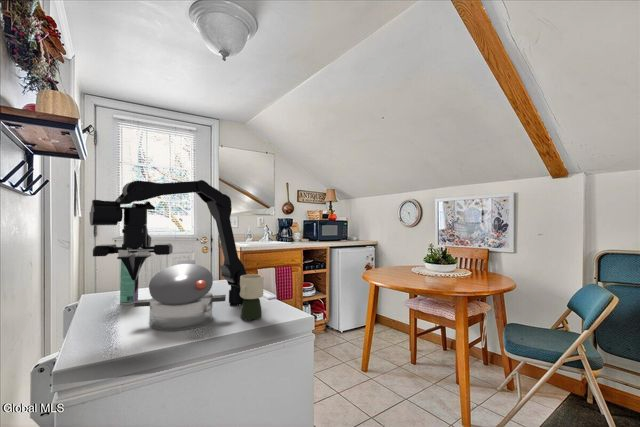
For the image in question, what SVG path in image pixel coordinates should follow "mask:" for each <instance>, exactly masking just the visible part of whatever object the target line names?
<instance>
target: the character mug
mask: <svg viewBox="0 0 640 427" xmlns="http://www.w3.org/2000/svg"><path fill="white" fill-rule="evenodd" d="M264 281H265V280H264V275H262V274H255V273H251V274H250V273H249V274H247V275H242V276H240V288H241V291H240V296H241V297H242V298H244V301H243V304H242V305H241V312H240V319H242V320H248V321H249V320H257V319H260V318H262V315H263V314H262V306H261V305H262V304H261V300H260V298H262V297H263V296H264Z"/></svg>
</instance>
